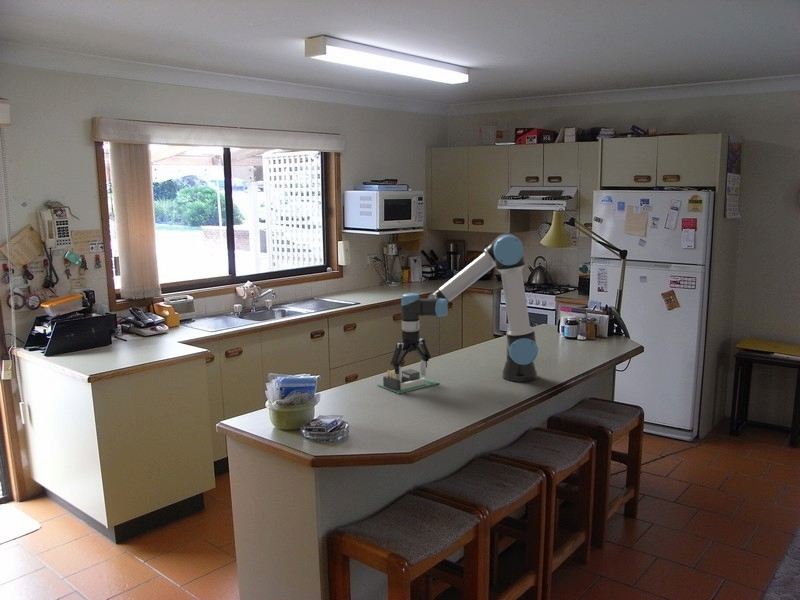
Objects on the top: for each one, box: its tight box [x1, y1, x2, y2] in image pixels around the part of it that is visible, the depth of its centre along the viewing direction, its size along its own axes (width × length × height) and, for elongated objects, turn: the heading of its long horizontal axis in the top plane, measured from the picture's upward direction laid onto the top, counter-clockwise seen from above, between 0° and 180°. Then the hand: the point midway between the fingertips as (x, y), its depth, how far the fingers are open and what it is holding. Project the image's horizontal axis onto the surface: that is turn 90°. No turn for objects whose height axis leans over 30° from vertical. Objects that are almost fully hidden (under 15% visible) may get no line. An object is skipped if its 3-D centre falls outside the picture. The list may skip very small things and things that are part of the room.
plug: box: [401, 368, 421, 383], centre depth 288 cm, size 6×5×5 cm
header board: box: [377, 369, 440, 394], centre depth 287 cm, size 15×22×8 cm
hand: (411, 378), depth 288 cm, fingers open, 13 cm apart
